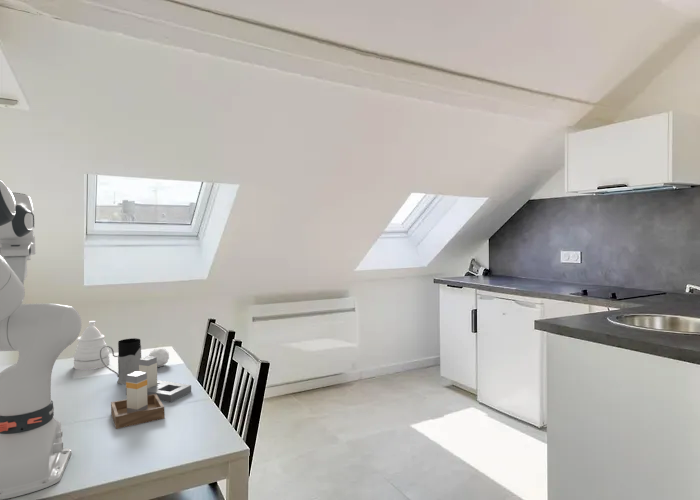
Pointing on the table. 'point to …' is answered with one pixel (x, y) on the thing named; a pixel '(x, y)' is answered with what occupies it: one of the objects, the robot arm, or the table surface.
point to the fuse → (149, 369)
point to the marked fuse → (136, 391)
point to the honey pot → (91, 349)
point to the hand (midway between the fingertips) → (18, 295)
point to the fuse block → (169, 390)
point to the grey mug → (126, 358)
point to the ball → (160, 356)
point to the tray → (134, 418)
